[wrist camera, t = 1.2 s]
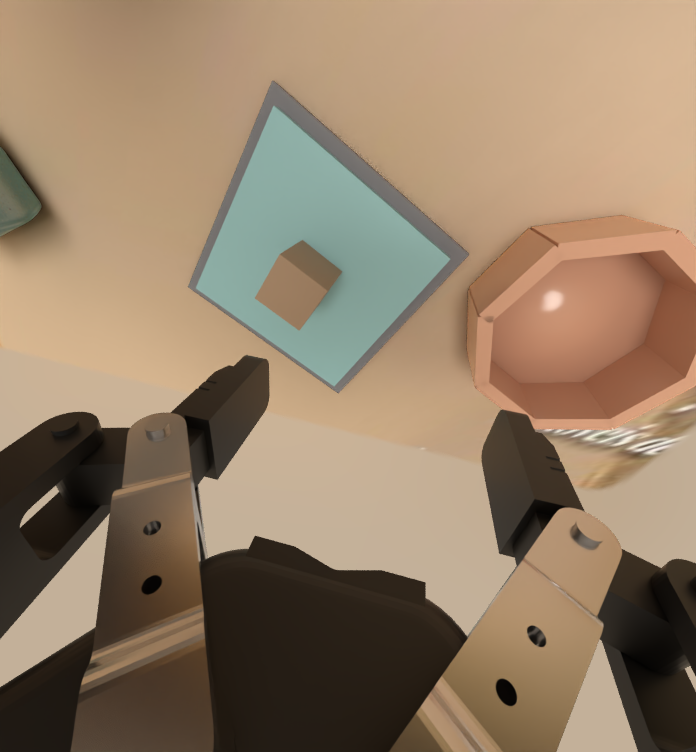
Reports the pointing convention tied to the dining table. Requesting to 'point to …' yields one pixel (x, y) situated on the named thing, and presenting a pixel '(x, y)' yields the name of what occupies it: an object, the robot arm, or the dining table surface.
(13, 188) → the flower pot
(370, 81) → the dining table surface
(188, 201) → the dining table surface
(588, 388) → the bowl
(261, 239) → the lid
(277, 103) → the mat
